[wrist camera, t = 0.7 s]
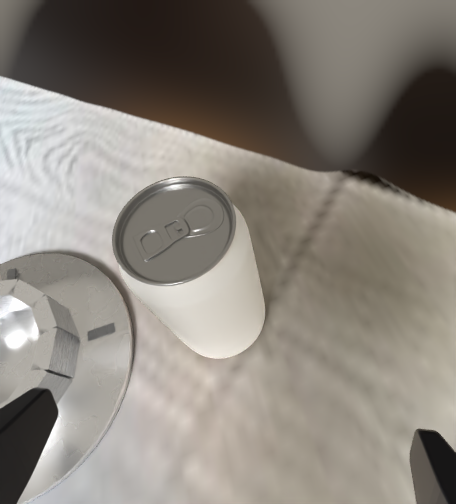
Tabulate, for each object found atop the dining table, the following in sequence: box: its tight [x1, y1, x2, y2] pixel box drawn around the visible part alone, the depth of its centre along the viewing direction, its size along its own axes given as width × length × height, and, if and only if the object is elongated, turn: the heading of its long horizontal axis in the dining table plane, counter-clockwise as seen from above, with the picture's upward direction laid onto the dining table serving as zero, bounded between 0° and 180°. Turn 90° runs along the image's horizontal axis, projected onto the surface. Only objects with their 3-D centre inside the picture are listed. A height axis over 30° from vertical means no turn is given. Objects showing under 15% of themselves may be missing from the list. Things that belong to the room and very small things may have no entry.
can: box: [112, 177, 265, 359], centre depth 21 cm, size 6×6×12 cm
